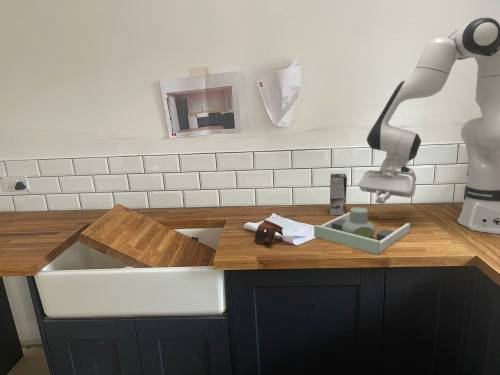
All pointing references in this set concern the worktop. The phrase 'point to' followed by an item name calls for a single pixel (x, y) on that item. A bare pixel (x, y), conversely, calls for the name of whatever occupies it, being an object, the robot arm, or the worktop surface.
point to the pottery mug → (267, 232)
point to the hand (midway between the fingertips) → (379, 202)
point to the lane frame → (356, 240)
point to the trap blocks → (379, 236)
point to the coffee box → (338, 194)
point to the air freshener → (359, 223)
